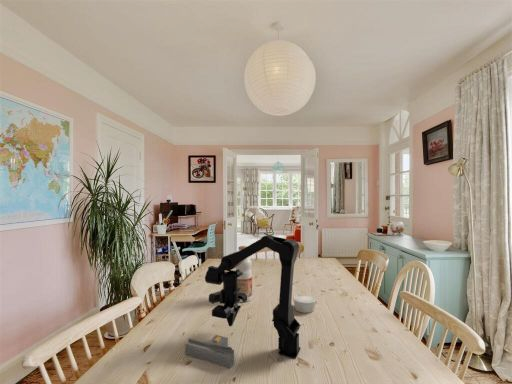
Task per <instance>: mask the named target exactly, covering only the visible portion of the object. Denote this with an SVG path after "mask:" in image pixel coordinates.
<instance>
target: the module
mask: <svg viewBox="0 0 512 384" xmlns="http://www.w3.org/2000/svg"><path fill="white" fill-rule="evenodd" d="M207 343H210V344H214V345H218V346H221V347H225V348H227V347H229V339H228V337H226V336H223V335H218V334H215V335H214V336H213V337H212V338H211V339H210V340H208V342H207Z"/></svg>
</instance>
